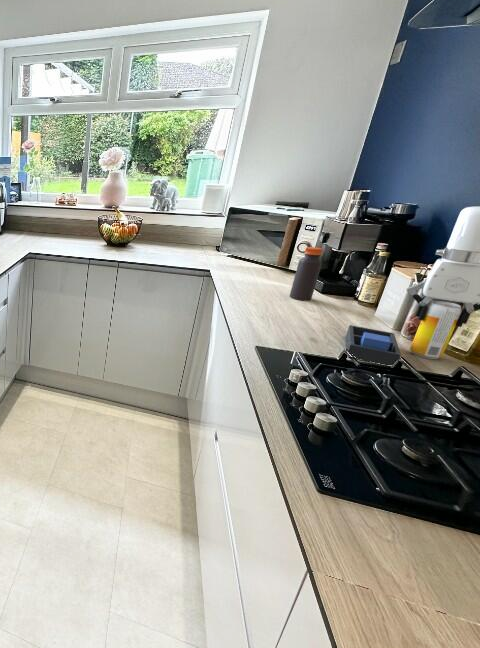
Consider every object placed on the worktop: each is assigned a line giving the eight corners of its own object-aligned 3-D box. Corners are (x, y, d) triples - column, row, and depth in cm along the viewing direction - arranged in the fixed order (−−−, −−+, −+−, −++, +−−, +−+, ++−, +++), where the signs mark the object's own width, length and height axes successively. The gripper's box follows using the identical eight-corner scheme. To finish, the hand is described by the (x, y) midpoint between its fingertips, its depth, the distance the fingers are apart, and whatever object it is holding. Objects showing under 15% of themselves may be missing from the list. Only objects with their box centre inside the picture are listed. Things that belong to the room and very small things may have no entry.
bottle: (285, 296, 159) (298, 247, 152) (297, 294, 161) (311, 246, 154) (302, 301, 153) (317, 250, 146) (315, 300, 155) (330, 249, 148)
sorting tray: (389, 345, 116) (394, 333, 115) (395, 368, 103) (400, 354, 102) (345, 336, 122) (349, 324, 121) (346, 357, 109) (350, 344, 108)
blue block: (382, 353, 110) (389, 336, 108) (384, 359, 106) (390, 342, 104) (358, 348, 113) (363, 331, 111) (358, 354, 109) (364, 337, 108)
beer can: (431, 351, 112) (452, 301, 107) (447, 361, 107) (470, 309, 102) (403, 348, 114) (423, 299, 109) (417, 358, 108) (439, 306, 103)
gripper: (418, 254, 104) (394, 318, 110) (525, 264, 93) (492, 334, 99) (414, 250, 109) (391, 311, 115) (515, 259, 98) (485, 326, 104)
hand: (438, 321), depth 107 cm, fingers open, 6 cm apart
